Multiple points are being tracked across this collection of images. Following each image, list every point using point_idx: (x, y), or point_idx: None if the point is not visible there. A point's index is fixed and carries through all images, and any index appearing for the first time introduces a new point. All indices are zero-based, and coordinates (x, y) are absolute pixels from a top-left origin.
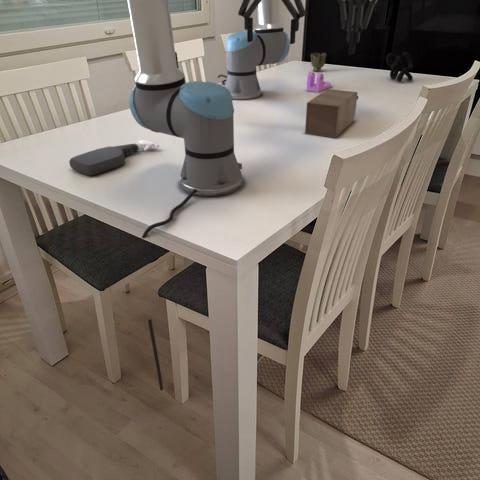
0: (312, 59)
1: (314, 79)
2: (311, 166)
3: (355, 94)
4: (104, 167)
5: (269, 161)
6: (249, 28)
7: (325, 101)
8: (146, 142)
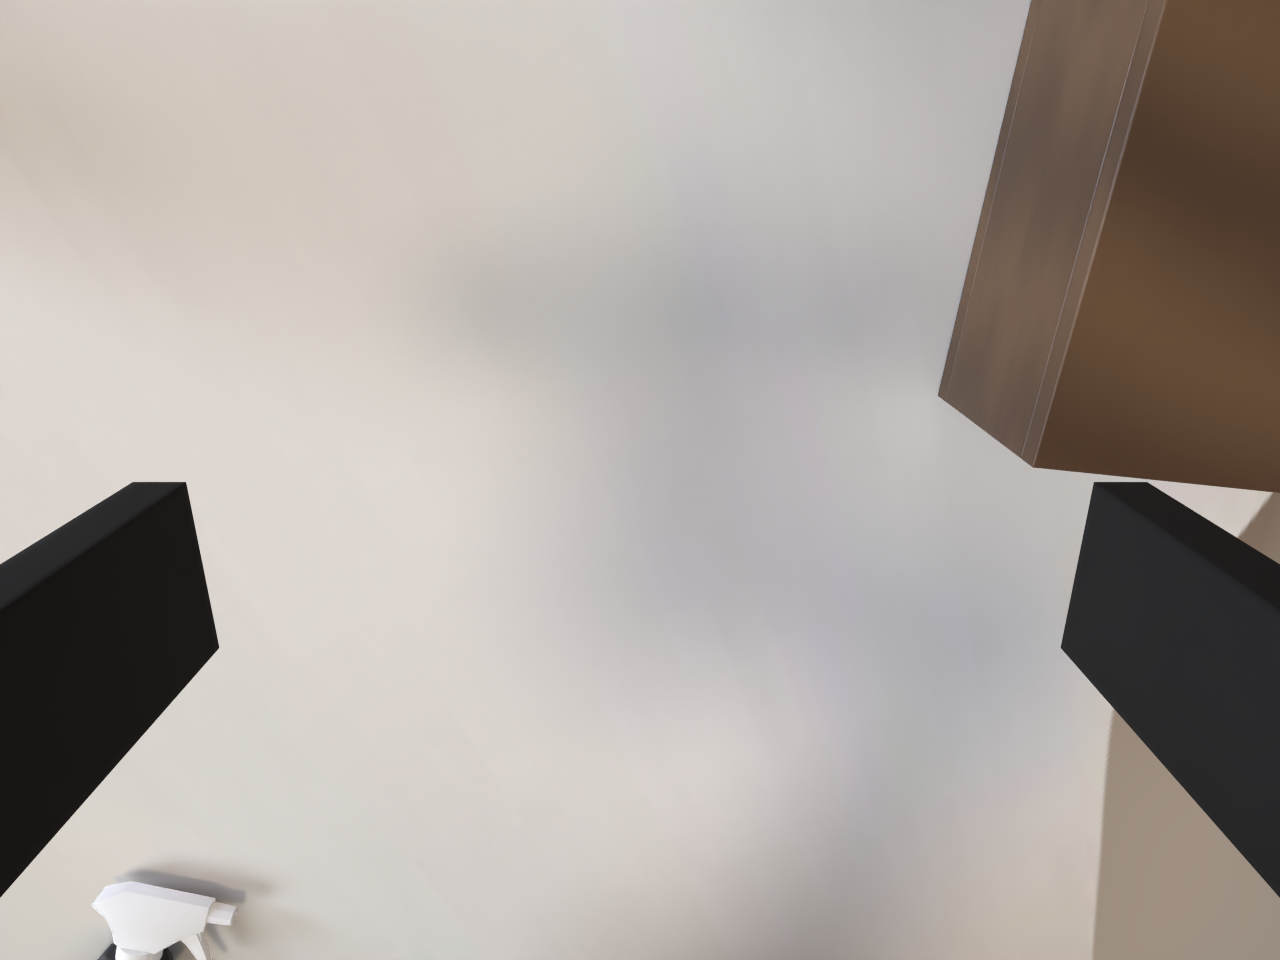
0: None
1: None
2: (1040, 837)
3: None
4: None
5: (829, 845)
6: (53, 832)
7: (1199, 382)
8: (158, 927)
